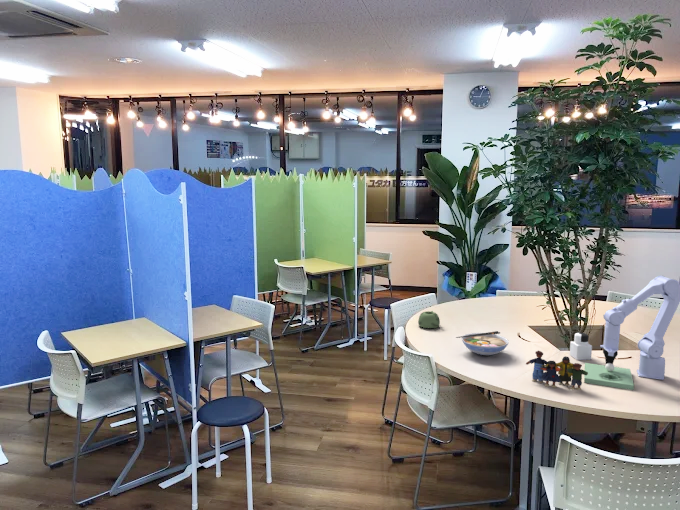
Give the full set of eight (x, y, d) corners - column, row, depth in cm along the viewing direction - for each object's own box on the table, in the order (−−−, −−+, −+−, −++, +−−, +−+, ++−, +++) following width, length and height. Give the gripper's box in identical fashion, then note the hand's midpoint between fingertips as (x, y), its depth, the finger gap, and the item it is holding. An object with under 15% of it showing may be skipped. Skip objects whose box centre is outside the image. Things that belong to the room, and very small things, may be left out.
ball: (614, 363, 214) (614, 363, 211) (614, 371, 214) (614, 372, 211) (605, 362, 216) (604, 363, 213) (605, 370, 216) (604, 371, 213)
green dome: (437, 330, 283) (437, 316, 282) (415, 328, 288) (415, 314, 287) (442, 323, 297) (443, 309, 296) (422, 321, 302) (422, 307, 301)
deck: (629, 373, 216) (630, 369, 216) (633, 390, 198) (633, 385, 198) (584, 366, 224) (584, 362, 224) (584, 382, 206) (584, 378, 206)
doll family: (527, 386, 204) (528, 355, 202) (524, 377, 212) (526, 348, 210) (587, 391, 198) (589, 359, 196) (582, 382, 206) (584, 352, 205)
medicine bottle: (583, 354, 240) (585, 331, 238) (591, 359, 233) (592, 335, 231) (569, 355, 240) (570, 331, 238) (576, 360, 233) (578, 336, 231)
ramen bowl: (474, 364, 229) (474, 347, 228) (450, 348, 251) (451, 333, 250) (520, 358, 236) (520, 342, 235) (493, 344, 257) (493, 329, 256)
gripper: (601, 331, 221) (598, 359, 223) (601, 340, 208) (598, 370, 210) (618, 333, 218) (616, 362, 220) (620, 343, 205) (617, 373, 207)
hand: (608, 366), depth 215 cm, fingers closed, pressing on ball
